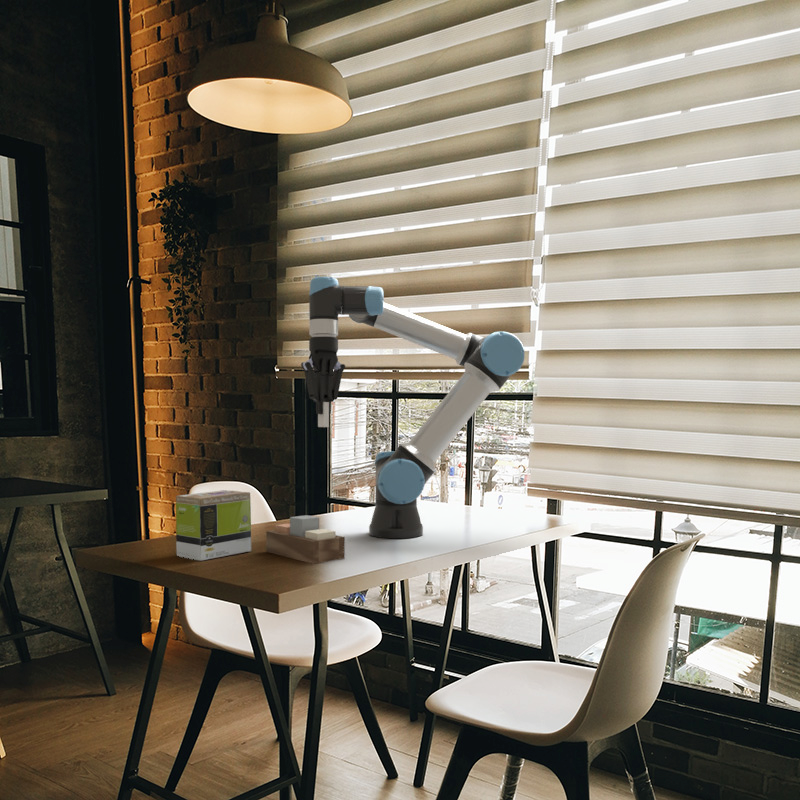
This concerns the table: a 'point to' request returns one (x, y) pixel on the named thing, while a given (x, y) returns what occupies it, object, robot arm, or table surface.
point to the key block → (305, 547)
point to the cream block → (320, 534)
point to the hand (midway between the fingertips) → (323, 426)
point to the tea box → (213, 524)
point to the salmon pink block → (283, 528)
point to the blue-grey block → (303, 524)
